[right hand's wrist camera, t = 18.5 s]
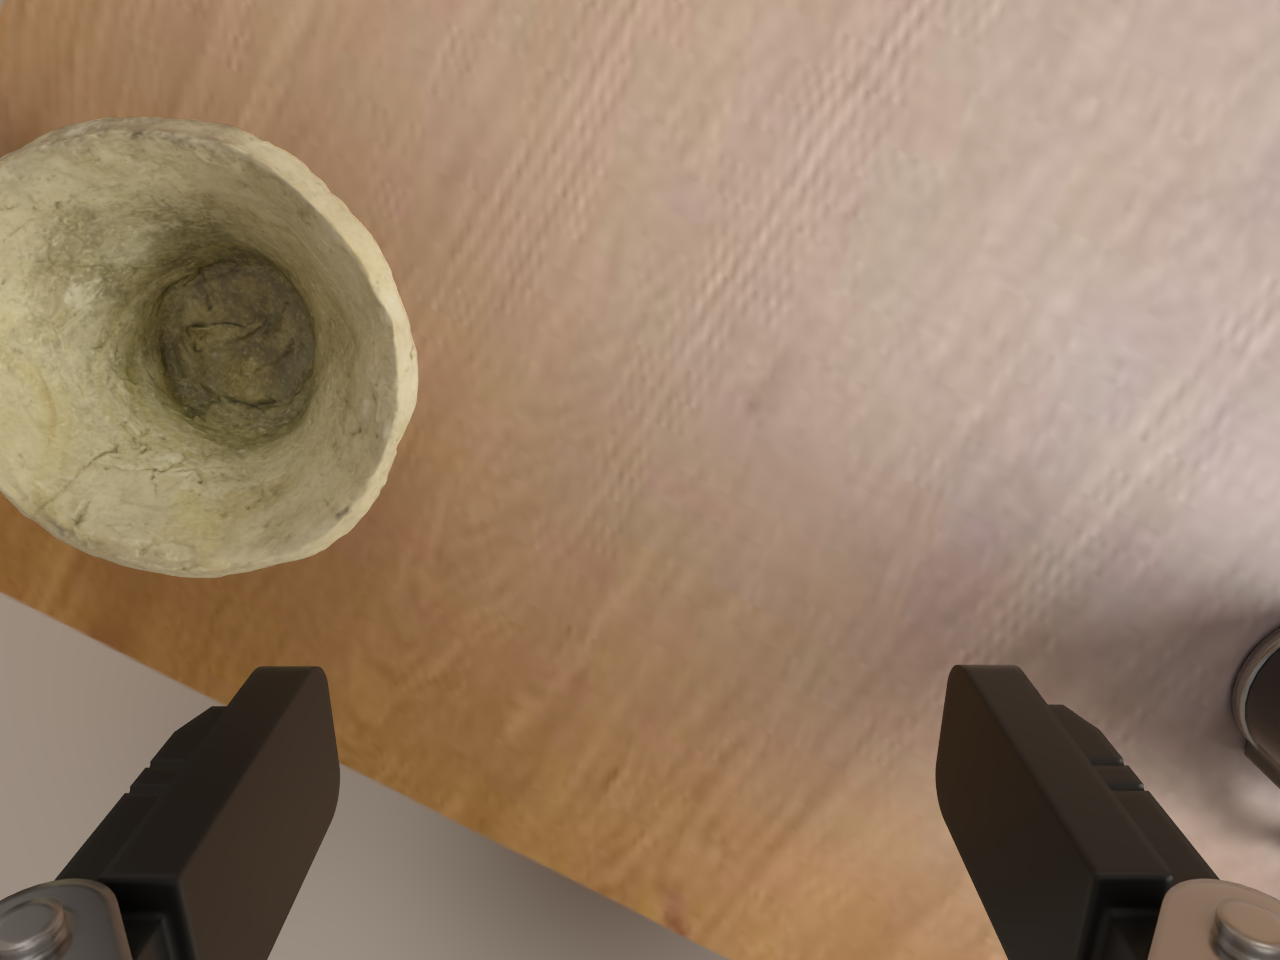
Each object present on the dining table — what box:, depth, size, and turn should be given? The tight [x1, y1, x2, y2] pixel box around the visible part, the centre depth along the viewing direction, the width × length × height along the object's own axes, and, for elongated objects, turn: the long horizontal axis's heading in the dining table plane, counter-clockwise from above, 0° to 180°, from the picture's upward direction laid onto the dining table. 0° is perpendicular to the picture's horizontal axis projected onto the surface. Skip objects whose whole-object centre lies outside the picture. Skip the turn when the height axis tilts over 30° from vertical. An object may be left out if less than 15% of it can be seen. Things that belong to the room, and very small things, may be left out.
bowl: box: [0, 116, 418, 578], centre depth 34 cm, size 14×18×15 cm
